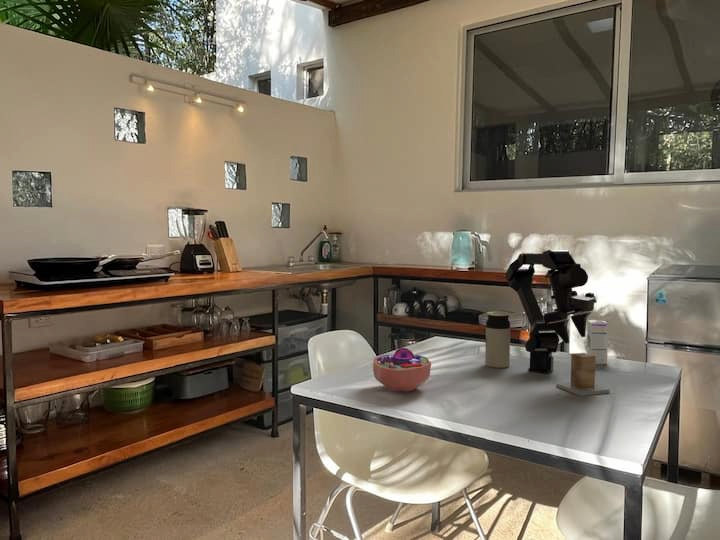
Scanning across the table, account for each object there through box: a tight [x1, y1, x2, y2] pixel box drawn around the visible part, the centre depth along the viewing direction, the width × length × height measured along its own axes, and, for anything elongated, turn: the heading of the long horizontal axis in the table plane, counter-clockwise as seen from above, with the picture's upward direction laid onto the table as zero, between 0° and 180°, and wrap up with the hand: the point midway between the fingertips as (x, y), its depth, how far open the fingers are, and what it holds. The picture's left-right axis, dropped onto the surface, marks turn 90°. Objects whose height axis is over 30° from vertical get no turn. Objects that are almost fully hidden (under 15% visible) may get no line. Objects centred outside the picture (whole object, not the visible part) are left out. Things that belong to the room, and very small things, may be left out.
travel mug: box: [484, 311, 511, 369], centre depth 186 cm, size 8×8×18 cm
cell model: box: [372, 347, 432, 393], centre depth 157 cm, size 17×20×11 cm
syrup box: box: [586, 319, 609, 365], centre depth 192 cm, size 6×6×14 cm
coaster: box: [555, 381, 611, 397], centre depth 157 cm, size 10×10×1 cm
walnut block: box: [570, 352, 596, 389], centre depth 157 cm, size 4×4×9 cm
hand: (575, 340), depth 167 cm, fingers open, 9 cm apart
